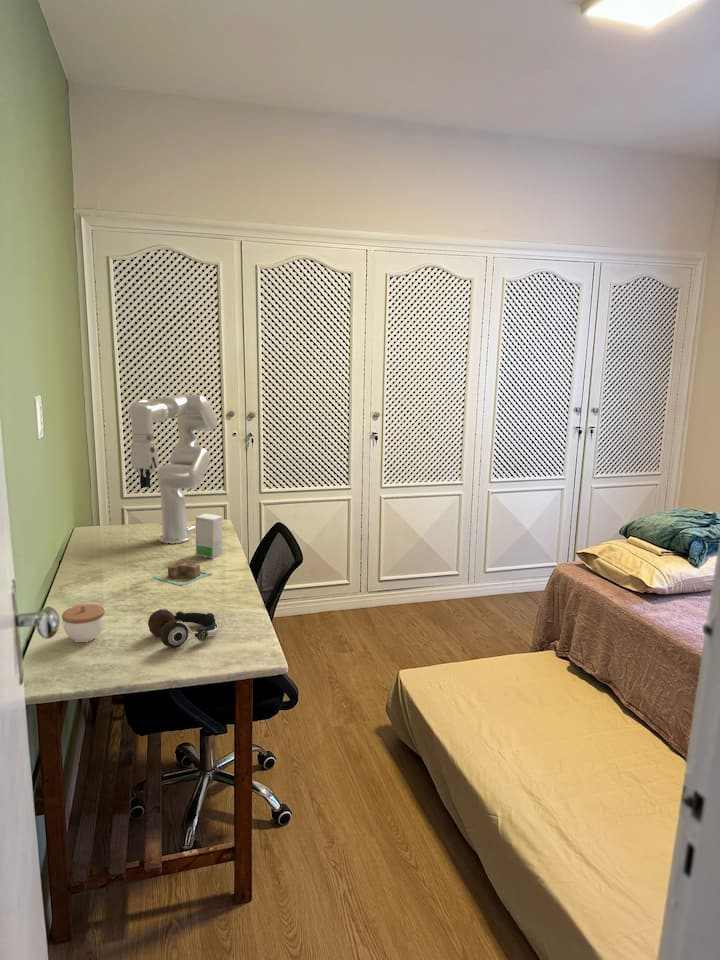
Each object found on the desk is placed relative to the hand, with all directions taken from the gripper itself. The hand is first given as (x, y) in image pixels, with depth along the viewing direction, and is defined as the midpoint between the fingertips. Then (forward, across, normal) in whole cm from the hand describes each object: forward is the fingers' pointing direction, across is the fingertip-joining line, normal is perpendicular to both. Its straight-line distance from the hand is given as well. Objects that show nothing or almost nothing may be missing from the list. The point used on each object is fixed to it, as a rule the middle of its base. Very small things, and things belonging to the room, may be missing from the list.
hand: (145, 486), depth 242 cm
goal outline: (+27, -26, +8) cm, 39 cm away
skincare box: (+27, -18, -14) cm, 36 cm away
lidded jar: (+27, -42, +57) cm, 76 cm away
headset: (+28, -63, +40) cm, 80 cm away
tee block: (+27, -28, +7) cm, 39 cm away
